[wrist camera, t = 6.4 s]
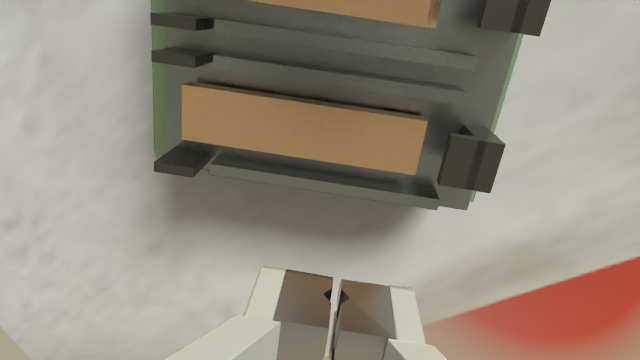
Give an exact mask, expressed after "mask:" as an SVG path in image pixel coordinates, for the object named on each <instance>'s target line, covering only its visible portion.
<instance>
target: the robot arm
mask: <svg viewBox="0 0 640 360" xmlns="http://www.w3.org/2000/svg"><path fill="white" fill-rule="evenodd" d="M332 284H333V277H328V276H322V275H317V274H311V273H305V272H299V271H294V270H288V269H287V270H285V269H282V268H276V267H269V266H263V267H262V268H261V269H260V271H259V274H258V277H257V280H256V282H255V285H254V288H253V291H252V293H251V296H250V299H249V302H248V304H247V307H246V310H245V313H244V316H241V315H235V316H234V317H232V318H230V319H229V320H227V321H226V322H224V323H222V324H221V325H219V326H218V327H216V328H214V329H213V330H211V331H210V332H208V333H206V334H205V335H203V336H202V337H200V338H198V339H197V340H195V341H194V342H192V343H190V344H189V345H187V346H186V347H184V348H182V349H181V350H179V351H178V352H176V353H174V354H173V355H171V356H170V357H168V358H166V359H165V360H322V359H323V358H324V355H325V348H326V342H327V336H328V330H329V321H330V310H331V302H330V299H331V293H332ZM329 359H330V360H447V359H446V358H445V357H444V356H443V355H442V354H441V353H440V352H439V351H438V350H437V349H436V348H435V347H434V346H432V345H426V343H425V338H424V334H423V329H422V324H421V320H420V315H419V311H418V306H417V302H416V297H415V293H414V290H413V289H412V288H406V287H398V286H390V285H388V286H386V285H378V284H371V283H364V282H357V281H350V280H343V279H341V281H340V285H339V291H338V297H337V311H335V313H334V319H333V325H332V332H331V338H330V349H329Z"/></svg>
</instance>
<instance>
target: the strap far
mask: <svg viewBox="0 0 640 360" xmlns="http://www.w3.org/2000/svg"><path fill="white" fill-rule="evenodd" d="M427 123H428V121H427V119H426V117H425V116H419V115H412V114H405V113H399V112H392V111H385V110H379V109H372V108H365V107H358V106H352V105H345V104H338V103H332V102H325V101H318V100H311V99H305V98H298V97H291V96H285V95H278V94H271V93H264V92H258V91H251V90H244V89H238V88H231V87H224V86H217V85H211V84H204V83H197V82H191V81H189V82H187V83H184V84H182V140H188V141H195V142H201V143H208V144H214V145H221V146H227V147H234V148H241V149H247V150H254V151H260V152H267V153H273V154H280V155H286V156H293V157H299V158H306V159H312V160H319V161H325V162H332V163H338V164H345V165H351V166H358V167H364V168H371V169H378V170H384V171H391V172H397V173H404V174H410V175H415V174H416V170H417V166H418V161H419V157H420V153H421V149H422V144H423V140H424V136H425V132H426V127H427Z"/></svg>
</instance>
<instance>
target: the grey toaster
mask: <svg viewBox="0 0 640 360" xmlns="http://www.w3.org/2000/svg"><path fill="white" fill-rule="evenodd" d="M550 2H551V0H442V1H441V6H440V10H439V15H438V19H437V24H436V28H428V27H421V26H414V25H407V24H401V23H394V22H387V21H381V20H374V19H368V18H361V17H354V16H348V15H341V14H334V13H328V12H321V11H314V10H308V9H301V8H295V7H288V6H281V5H275V4H268V3H261V2H255V1H248V0H164V12H154V13H151V25H157V26H164V39H165V48H162V49H157V50H152V62H156V63H163V64H165V128H166V154H164V155H163V156H162V157H160V158H159V159H158V160H156V161H155V162H154V171H155V172H161V173H168V174H174V175H180V176H187V177H194V176H195V175H196V174H197V173H198V172H199V171H200V170H201V169H205V170H210V171H209V175H215V176H222V177H228V178H235V179H241V180H247V181H254V182H260V183H267V184H273V185H279V186H286V187H292V188H299V189H305V190H311V191H318V192H324V193H331V194H337V195H343V196H350V197H356V198H363V199H369V200H375V201H382V202H388V203H395V204H401V205H407V206H414V207H420V208H427V209H433V210H437V208H438V206H443V207H449V208H456V209H462V210H467V208H468V205H469V201H470V198H471V195H472V191H479V192H486V193H490V192H491V189H492V186H493V183H494V179H495V176H496V173H497V170H498V167H499V164H500V160H501V157H502V154H503V151H504V148H505V144H504V143H503V142H502V141H501V140H500V139H499V138H498V137H497V136H496V135H495V134H494V133H493V132H491V131H490V130H491V127H492V124H493V120H494V117H495V114H496V110H497V107H498V104H499V100H500V97H501V93H502V90H503V87H504V83H505V80H506V77H507V73H508V70H509V66H510V63H511V60H512V56H513V53H514V50H515V46H516V43H517V40H518V36H519V34H526V35H533V36H540V33H541V30H542V27H543V24H544V21H545V18H546V14H547V11H548V8H549V5H550ZM189 81H191V82H197V83H204V84H211V85H217V86H224V87H231V88H238V89H244V90H251V91H258V92H264V93H271V94H278V95H285V96H291V97H298V98H305V99H311V100H318V101H325V102H332V103H338V104H345V105H352V106H358V107H365V108H372V109H379V110H385V111H392V112H399V113H405V114H412V115H419V116H425V117H426V119H427V121H428V123H427V127H426V132H425V136H424V140H423V144H422V149H421V153H420V157H419V161H418V166H417V170H416V174H415V175H410V174H404V173H397V172H391V171H384V170H378V169H371V168H364V167H358V166H351V165H345V164H338V163H332V162H325V161H319V160H312V159H306V158H299V157H293V156H286V155H280V154H273V153H267V152H260V151H254V150H247V149H241V148H234V147H227V146H221V145H214V144H208V143H201V142H195V141H188V140H182V84H184V83H187V82H189Z"/></svg>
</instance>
